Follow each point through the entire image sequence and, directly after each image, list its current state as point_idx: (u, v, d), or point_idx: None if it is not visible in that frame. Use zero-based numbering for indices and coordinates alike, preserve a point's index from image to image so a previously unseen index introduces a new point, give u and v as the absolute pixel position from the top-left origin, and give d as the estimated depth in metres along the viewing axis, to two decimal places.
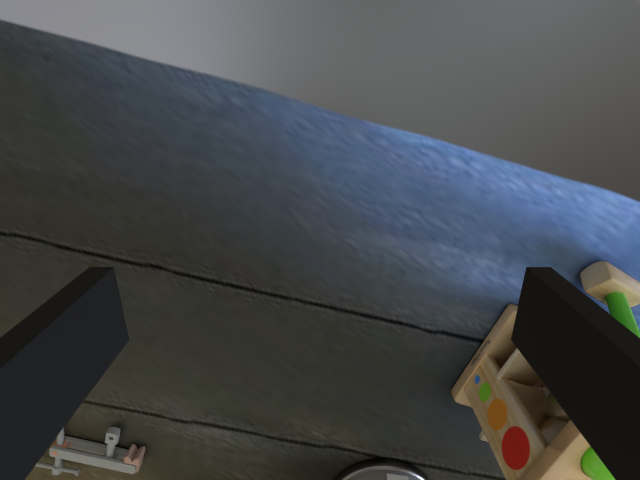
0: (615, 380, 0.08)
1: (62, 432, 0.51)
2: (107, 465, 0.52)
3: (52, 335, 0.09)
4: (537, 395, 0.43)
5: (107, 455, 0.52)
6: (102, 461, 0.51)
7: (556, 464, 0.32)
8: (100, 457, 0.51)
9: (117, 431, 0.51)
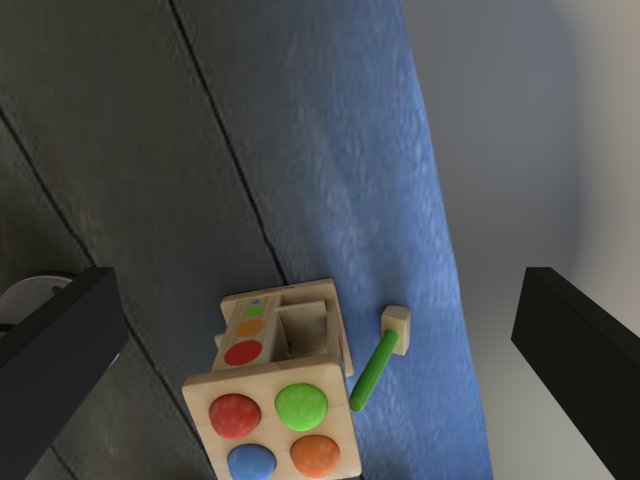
0: (615, 380, 0.08)
1: None
2: None
3: (52, 335, 0.09)
4: (283, 347, 0.45)
5: None
6: None
7: (268, 375, 0.34)
8: None
9: None
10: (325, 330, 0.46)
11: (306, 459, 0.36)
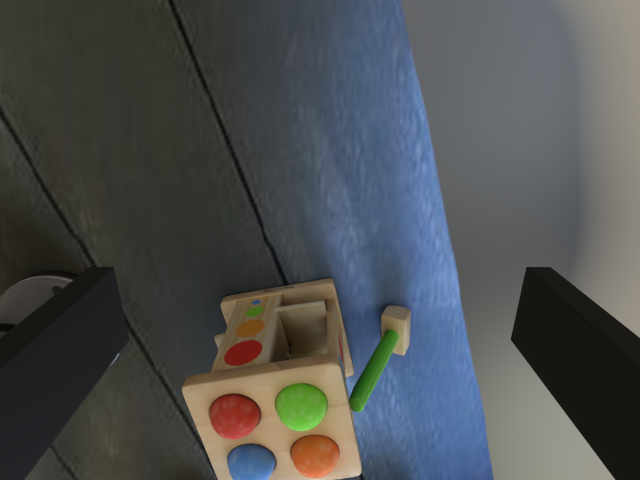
0: (615, 380, 0.08)
1: None
2: None
3: (52, 335, 0.09)
4: (283, 347, 0.45)
5: None
6: None
7: (268, 375, 0.34)
8: None
9: None
10: (325, 330, 0.46)
11: (306, 459, 0.36)
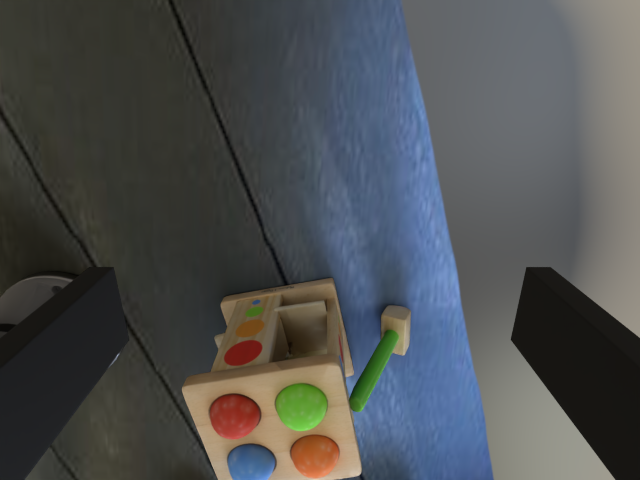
0: (615, 380, 0.08)
1: None
2: None
3: (52, 335, 0.09)
4: (283, 347, 0.45)
5: None
6: None
7: (268, 375, 0.34)
8: None
9: None
10: (325, 330, 0.46)
11: (306, 459, 0.36)
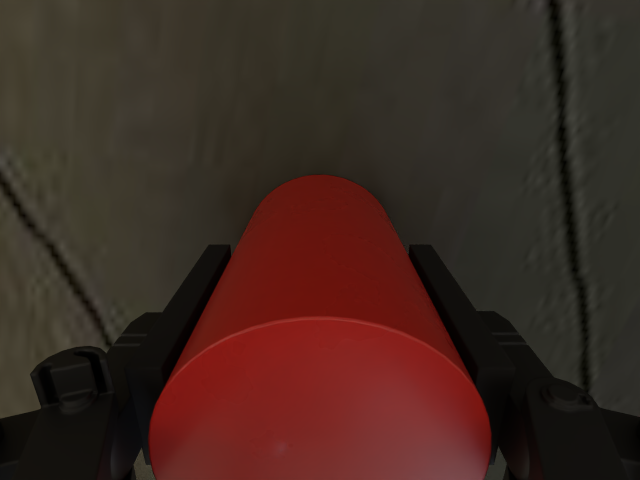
0: None
1: None
2: None
3: (207, 296, 0.11)
4: None
5: None
6: None
7: None
8: None
9: None
10: None
11: None
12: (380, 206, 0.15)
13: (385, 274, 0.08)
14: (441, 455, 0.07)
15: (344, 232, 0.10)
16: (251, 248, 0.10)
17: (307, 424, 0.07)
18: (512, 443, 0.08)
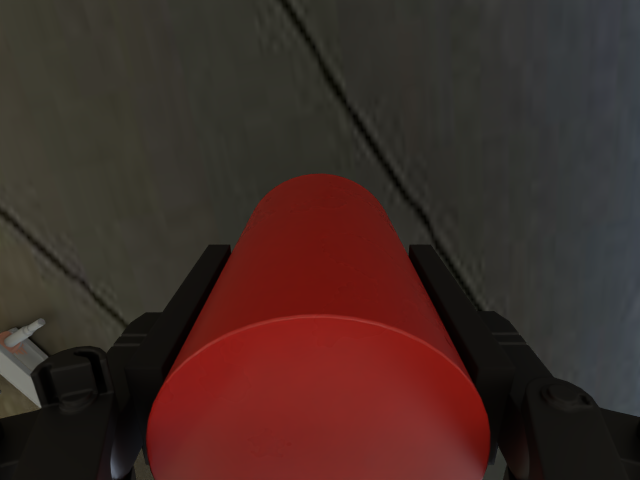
0: None
1: (32, 331, 0.27)
2: None
3: (207, 296, 0.11)
4: None
5: None
6: None
7: None
8: None
9: None
10: None
11: None
12: (379, 205, 0.15)
13: (384, 272, 0.08)
14: (440, 454, 0.07)
15: (342, 230, 0.10)
16: (250, 247, 0.10)
17: (306, 423, 0.07)
18: (512, 443, 0.08)
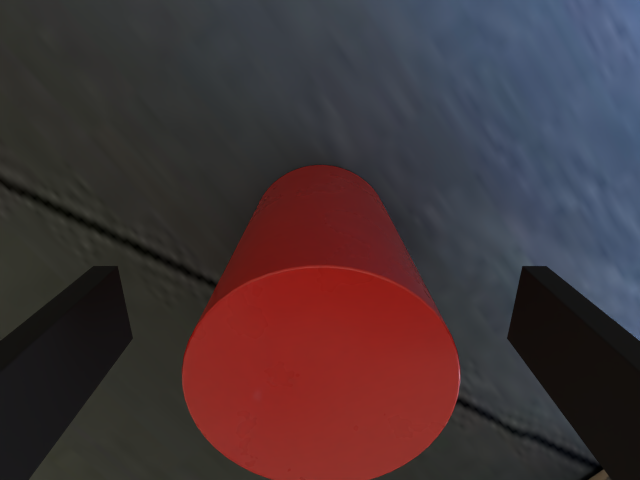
0: (609, 378, 0.09)
1: None
2: None
3: (58, 333, 0.09)
4: None
5: None
6: None
7: None
8: None
9: None
10: None
11: None
12: (375, 193, 0.17)
13: (375, 240, 0.10)
14: (419, 384, 0.09)
15: (341, 209, 0.12)
16: (262, 223, 0.12)
17: (311, 357, 0.09)
18: None
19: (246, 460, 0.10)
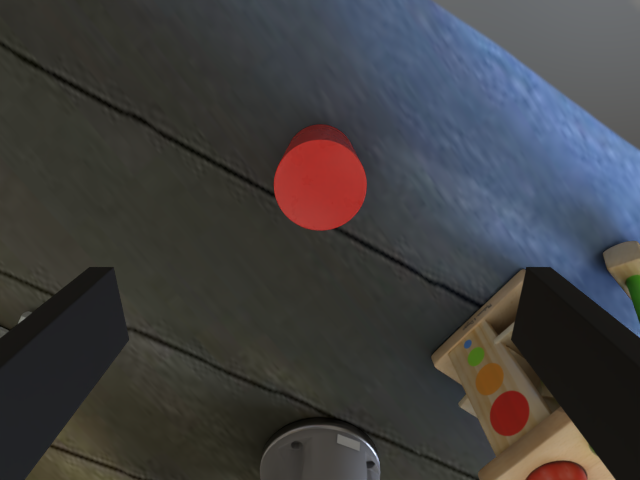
0: (615, 380, 0.08)
1: None
2: None
3: (52, 335, 0.09)
4: (531, 370, 0.38)
5: None
6: None
7: (565, 429, 0.28)
8: None
9: None
10: None
11: None
12: (346, 137, 0.35)
13: (339, 140, 0.28)
14: (352, 184, 0.27)
15: (328, 133, 0.29)
16: (297, 139, 0.30)
17: (317, 173, 0.27)
18: None
19: (293, 218, 0.28)
